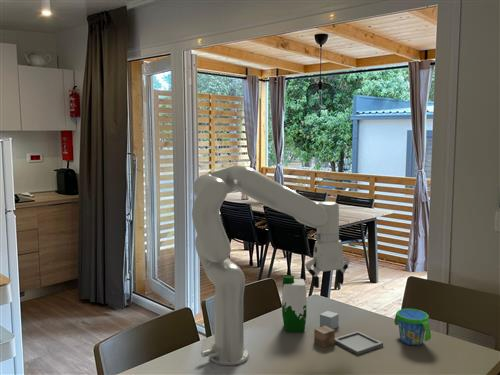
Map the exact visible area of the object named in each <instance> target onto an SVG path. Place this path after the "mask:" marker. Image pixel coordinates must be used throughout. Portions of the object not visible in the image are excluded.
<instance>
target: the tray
mask: <svg viewBox="0 0 500 375" xmlns="http://www.w3.org/2000/svg"><path fill="white" fill-rule="evenodd" d="M335 345H337V346H340V347H341V348H343V349H345V350H347V351H349V352H351V353H353V354H355V355H357V356H359V355H362V354H365V353H367V352H371V351H374V350H375V349H380V348H382V347H384V342H382V341H380V340H378V339H376V338H373V337H372V336H370V335H368V334H366V333H363V332H361V331H359V330H357V331H353V332H351V333H347V334H344V335H340V336H337V337H335Z"/></svg>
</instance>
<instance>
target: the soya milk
mask: <svg viewBox="0 0 500 375" xmlns="http://www.w3.org/2000/svg"><path fill="white" fill-rule="evenodd" d="M281 289H282V292H281V314H282V321H283V327H284V332H285V333H304V332H305V331H306V330H305V329H306V322H307V287H306V283H305V279H304V278H295V276H294V275H292V274H286V275H283V276H282V288H281Z"/></svg>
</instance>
